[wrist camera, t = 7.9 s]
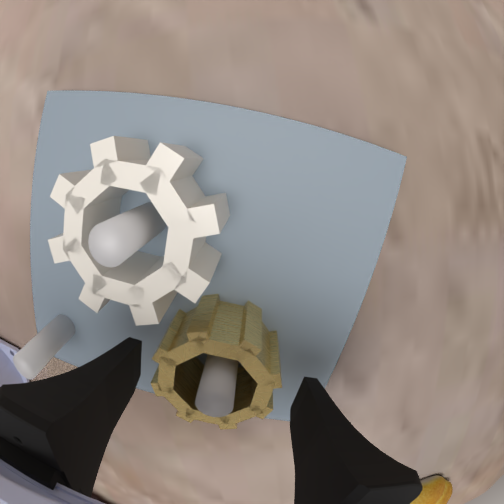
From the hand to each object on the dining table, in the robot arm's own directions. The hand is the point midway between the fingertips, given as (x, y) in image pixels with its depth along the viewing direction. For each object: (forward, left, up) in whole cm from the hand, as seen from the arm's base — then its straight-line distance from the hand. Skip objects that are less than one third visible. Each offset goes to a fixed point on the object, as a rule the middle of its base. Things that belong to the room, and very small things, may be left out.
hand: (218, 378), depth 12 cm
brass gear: (0, 0, -3) cm, 3 cm away
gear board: (-3, +3, -4) cm, 6 cm away
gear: (-4, +6, -3) cm, 8 cm away
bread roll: (+25, -19, -4) cm, 32 cm away
